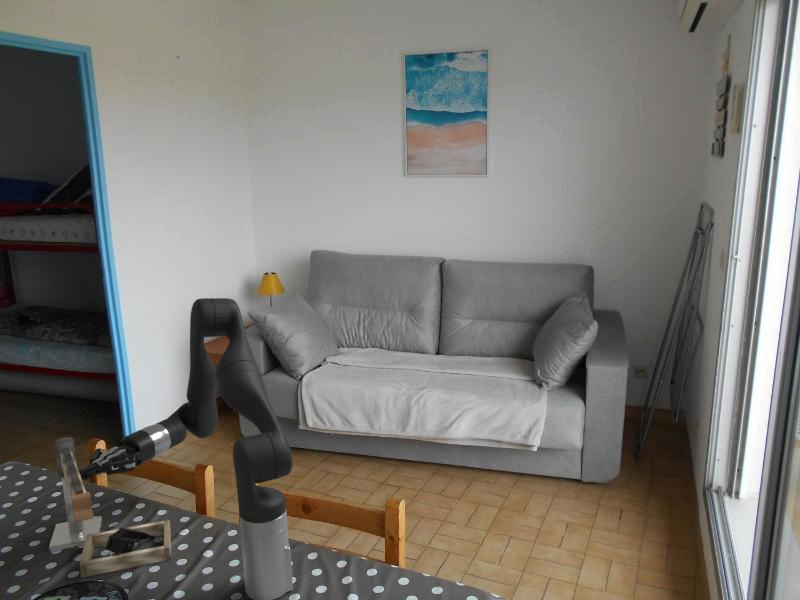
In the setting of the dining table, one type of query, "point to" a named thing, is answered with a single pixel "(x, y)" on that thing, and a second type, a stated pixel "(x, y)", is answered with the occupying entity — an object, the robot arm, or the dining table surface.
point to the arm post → (72, 527)
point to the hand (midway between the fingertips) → (80, 476)
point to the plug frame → (126, 559)
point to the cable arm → (73, 479)
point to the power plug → (124, 540)
